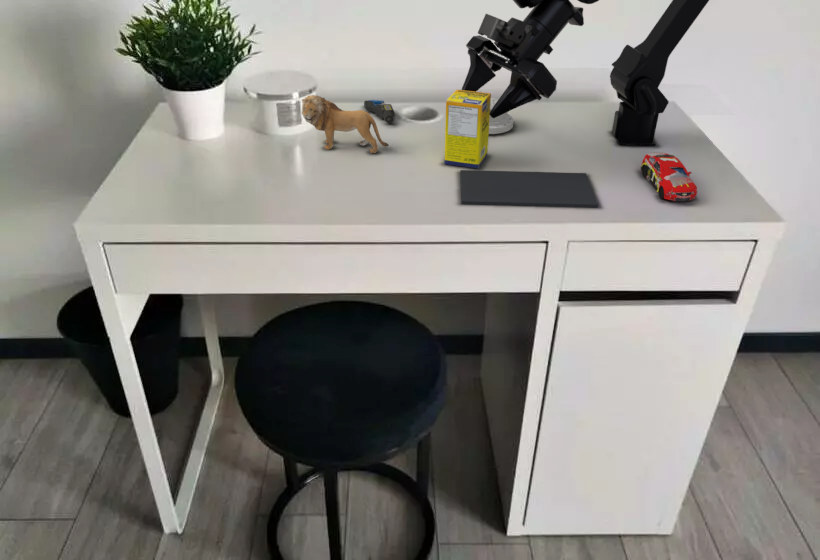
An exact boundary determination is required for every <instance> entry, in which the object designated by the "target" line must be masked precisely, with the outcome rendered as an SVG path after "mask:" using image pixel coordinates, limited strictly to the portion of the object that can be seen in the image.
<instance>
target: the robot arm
mask: <svg viewBox="0 0 820 560" xmlns="http://www.w3.org/2000/svg"><path fill="white" fill-rule="evenodd" d="M512 1H513V2H514V4H516V6H517V7H518V8H519V9H526V8H528V9H531V10H530V12H529V13H528V14H527V15H526V17H524V19H523V20H520V19H519V18H515V17H511V18H509V19H508V21H506V20H503V19H501V18H499V17H496V16H493V15H491V14H488V13H485V15H484V17H483V18H482V22H481V24H480V26H479V29H478V31H477V34H478V35H473V36H472V37H471V38H470V40H469V41H468V42H467V43H466V44H465V46H466V48H467V55H468V56H469V62H470V63H469V68H468V72H467V74H466V76H465V80H464V82H463V85H462V87H461V90H466V91H474V92H478V91H479V90H480V89H481V88H483V86H485V85H486V84H488V83H489V82H490V81H491V80H493V79H494V78H495V77H496V76H497V75H496V72H499V71H500V70H501V69H502V68H503V69H505V70H507V71H509V72H511V74H510V79H509V84H508V86H507V87H506V89H505V90H504V91H503V92H502V94H501V95H500V97H499V98H498V99H499V100H498V101H497V102H496V104H495V105H494V107H493V108H492V110H491V111H490V113H489V115H490V116H491V117H492V118H496V117H498V116H500V115H502V114H504V113H506V112H511V111H512V110H515V109H517V108H519V107H521V106H524V105H526V104H529V103H531V102H534V101H537V100H538V101H540V100H542V97H544V98H545V99H547V100H549V98H550V97H551V96H552V95H553V94H554V93H555V92H556V90H557V84H558V80H557V79H556V78H555V76H554V75H553V74H552V73H551V72H550V70H549V68H547V67H546V65H545V63H543V62H541V61H539V59H540V58H541V56H542V55H543V54H547V55H550V54H551V53H552V52H553V51H554V48H552V46H551V44H552V43H553V42H554V41H555V39H556V38H557V37H558V36H559V35H560V34H561V32H562V31H563V30H564V29H565V27H566V26H567V25H568V24H569V25H571V26H578V27H583V26H584V24H585V20H584V7H581V6H575V5H574V4H573V3H572V2H571V1H570V0H512ZM577 1H578V2H579V3H581V4H585V5H592V4H595V3H597V2H599V1H600V0H577ZM709 1H710V0H671V2H670V3H669V5H668V6H667V8H666V9H665V11H664V12H663V14H662V15H661V17H659V19H658V21H657V22H656V23H655V25H654V27H652V29H651V31H650V32H649V34H647V36H646V38H645V39H643V41H642V42H641V43H639V44H638V45H636V46H635V47H633V46H632V45H629V44H626V45H625V46H624V47H623V49H622V51H621V53H620V55H619V57H617V59H616V60H615V61H613V62H612V63H611V66H612V67H613V68H612V69H611V71H610V74H609V78H610V79H609V80H610V85H611V87H612V88H613V89H614V90H615V91H616V96H617V99H618V100H620V101H619V105H618V110H615V112H614V115H613V116H614V117H613V121H612V128H611V134H612V136H613V137H614V139H615V140H616V143H617V145H619V146H642V147H643V146H645V147H646V146H647V147H655V146H657V142H656V139H655V136H656V129H657V126H658V125H657V124H658V120H659V115H660V114H663V113H664V112H665V110H666V108H667V106H668V105H669V102H670V101H669V100H668V98H667V97H666V96H665V94H664V93H662V91H661V90H660V85H661V83H662V82H663V79H664V78H665V75H666V70H667V65H668V61H669V57H670V56H671V54H672V53H673V51H674V50H675V49H676V47H677V46H678V44H679V43H680V42H681V40H682V39H683V38H684V36H685V35H686V34H687V32H688V31H689V29H690V28H691V27H692V25H693V24H694V22H695V21H696V20H697V19H698V17H699V16H700V14H701V13H702V12H703V10H704V8H706V6H707V4H708V3H709ZM484 36H485V37H484ZM493 41H494V42H493Z"/></svg>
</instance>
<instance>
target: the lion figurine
mask: <svg viewBox="0 0 820 560" xmlns="http://www.w3.org/2000/svg"><path fill="white" fill-rule="evenodd" d="M301 101H302V102H301V103H302V104H301V115H302V118H303V119H304V120H305V122H306V123H308V124H310V125H312V126H314V128H315V129H316V130H317V131H321V132H324V134H325V138H326V140H325V145H324V149H325V150H331V149H333V147H334V144H335V143H334V139H335V132H342V133H348V132H353V131H355V130H357V132H358V133H359V135H360V136H361V138H363V139H364V140H360V142H359V145H360V146H366V145H368V144H370V145H371V146H372V147H370V148H369V150H368V151H369V153H371V154H376V153H377V152H378V149H379V147H378V143H377V141H378V142H379V143H380V145H381V146H382V147H385V148H387V147H389V146H390V145H389V143H388V142H385V141H383V140H382V138H381V136H380V135H381V134H380V133H379V129H378V126H377V123H376V121H375V119H374V118H373V116H372V115H371V114H370V113H369V111H365V110H363V109H357V110H344V109H341V108H340V107H338V106H337V104H335V103H334V102H332V101H330V100H327V99H326V98H325V97H322V96H319V95H315V94H308V95H307V96H306V97H304V98H302V99H301ZM371 126H372V128H373V131H374V133H375V136H376V138H377V139H376V138H375V137H374V136H373V134H372V133H371V130H370V129H371Z"/></svg>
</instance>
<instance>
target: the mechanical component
mask: <svg viewBox="0 0 820 560" xmlns="http://www.w3.org/2000/svg"><path fill="white" fill-rule="evenodd" d="M498 100H499V98H496V97H492V96H491V103H490V111H491V110H492V108H493V107H494V105H495V104H496V102H497V101H498ZM508 112H509V111H508ZM508 112H506V113H504V114H502V115H500V116H498V117H496V118H492V117H491V116H490V120H489V135H498V134H503V133H506V132H508V131H511V130H512V129H513V127H514V117H513V116H512V115H511V114H509V113H508Z"/></svg>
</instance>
